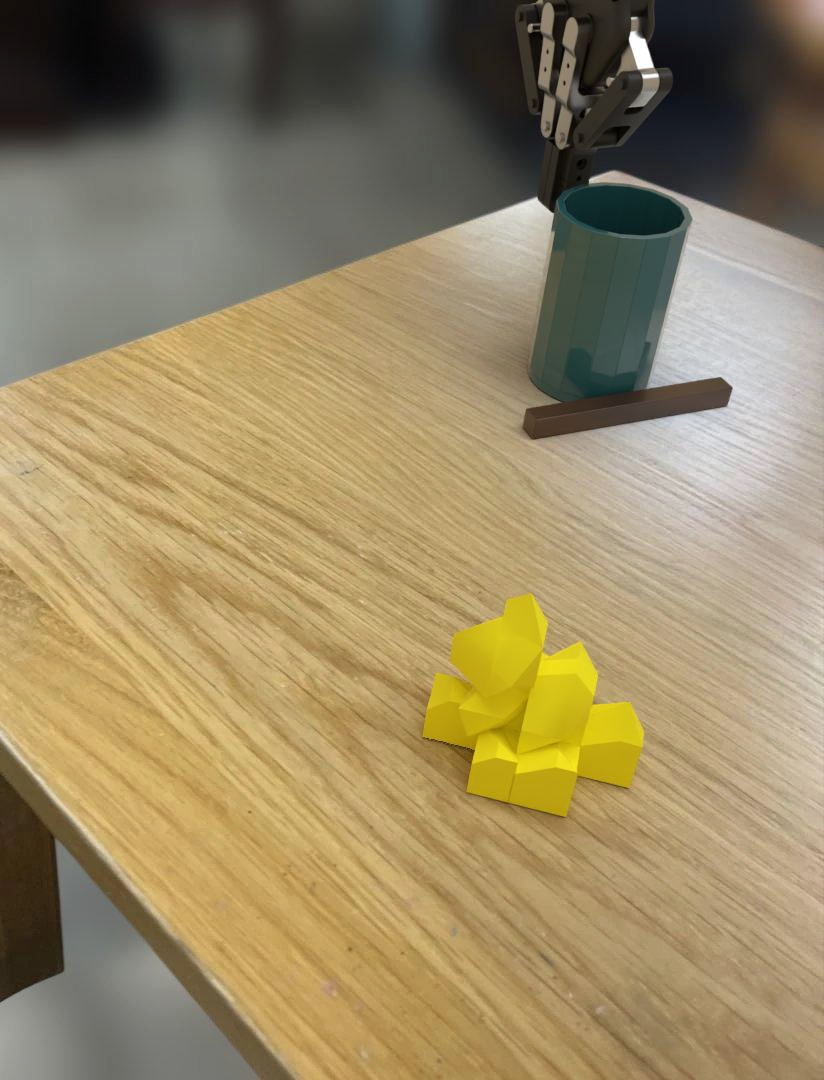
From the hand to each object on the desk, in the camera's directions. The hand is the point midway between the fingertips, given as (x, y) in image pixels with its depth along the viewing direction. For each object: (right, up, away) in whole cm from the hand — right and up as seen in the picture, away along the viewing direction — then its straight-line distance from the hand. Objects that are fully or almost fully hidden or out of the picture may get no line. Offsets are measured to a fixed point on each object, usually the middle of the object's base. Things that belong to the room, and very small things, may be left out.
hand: (559, 206), depth 69 cm
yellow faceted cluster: (-6, -27, -21) cm, 35 cm away
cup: (+2, -9, 0) cm, 10 cm away
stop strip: (+3, -12, -3) cm, 13 cm away
